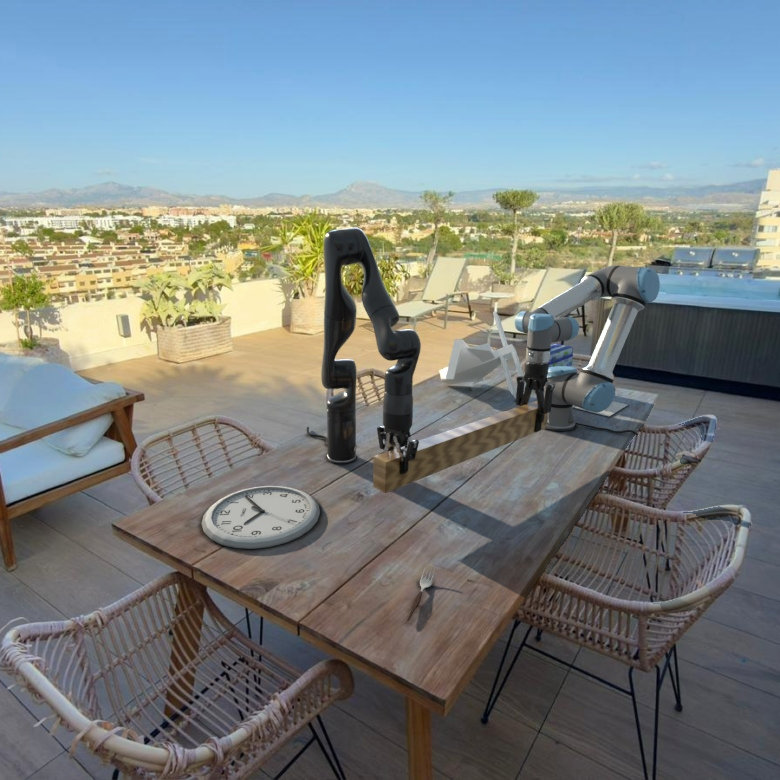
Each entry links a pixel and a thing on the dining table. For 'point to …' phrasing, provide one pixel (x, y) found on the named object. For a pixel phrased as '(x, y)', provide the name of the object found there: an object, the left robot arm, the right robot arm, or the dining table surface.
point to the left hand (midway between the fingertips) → (396, 469)
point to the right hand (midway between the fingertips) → (530, 428)
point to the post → (455, 446)
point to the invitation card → (609, 409)
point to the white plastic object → (480, 361)
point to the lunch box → (560, 355)
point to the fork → (424, 584)
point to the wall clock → (260, 517)
